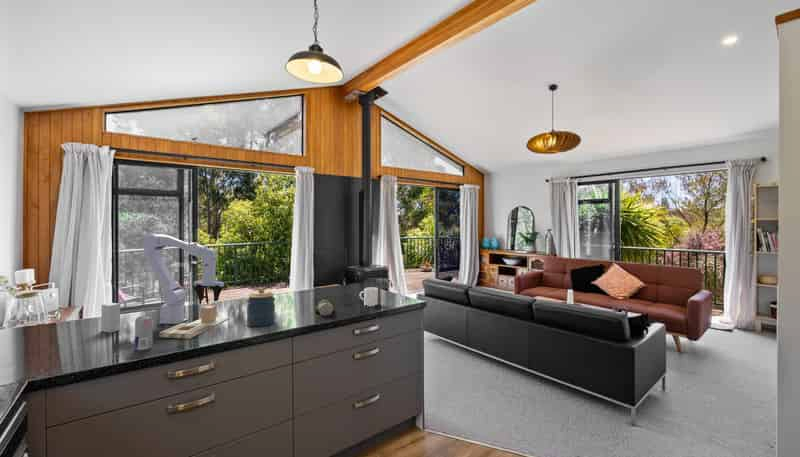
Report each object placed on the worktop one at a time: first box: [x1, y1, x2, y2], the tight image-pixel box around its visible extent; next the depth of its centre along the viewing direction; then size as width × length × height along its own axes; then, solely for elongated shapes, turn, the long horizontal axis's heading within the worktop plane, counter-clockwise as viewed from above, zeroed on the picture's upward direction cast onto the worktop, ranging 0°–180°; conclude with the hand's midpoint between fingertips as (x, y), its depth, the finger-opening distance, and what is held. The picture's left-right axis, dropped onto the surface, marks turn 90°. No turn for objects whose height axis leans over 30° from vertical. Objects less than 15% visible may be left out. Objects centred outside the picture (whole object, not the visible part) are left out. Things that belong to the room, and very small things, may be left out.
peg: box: [200, 305, 217, 323], centre depth 166 cm, size 4×4×7 cm
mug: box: [358, 286, 379, 307], centre depth 204 cm, size 8×12×10 cm
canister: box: [246, 287, 276, 328], centre depth 165 cm, size 13×13×18 cm
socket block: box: [158, 322, 212, 340], centre depth 151 cm, size 14×14×2 cm
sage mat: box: [191, 316, 230, 327], centre depth 167 cm, size 13×13×1 cm
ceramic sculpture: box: [313, 297, 334, 317], centre depth 185 cm, size 11×9×15 cm
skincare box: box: [100, 302, 121, 333], centre depth 151 cm, size 6×4×12 cm
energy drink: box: [134, 315, 153, 351], centre depth 132 cm, size 5×5×12 cm
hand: (208, 300), depth 167 cm, fingers open, 7 cm apart
